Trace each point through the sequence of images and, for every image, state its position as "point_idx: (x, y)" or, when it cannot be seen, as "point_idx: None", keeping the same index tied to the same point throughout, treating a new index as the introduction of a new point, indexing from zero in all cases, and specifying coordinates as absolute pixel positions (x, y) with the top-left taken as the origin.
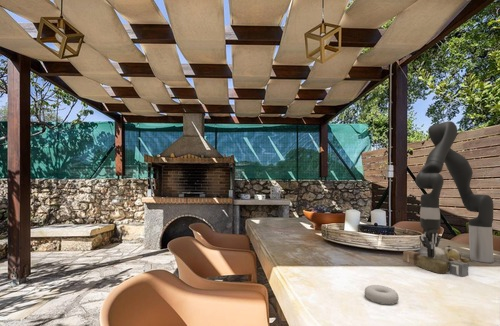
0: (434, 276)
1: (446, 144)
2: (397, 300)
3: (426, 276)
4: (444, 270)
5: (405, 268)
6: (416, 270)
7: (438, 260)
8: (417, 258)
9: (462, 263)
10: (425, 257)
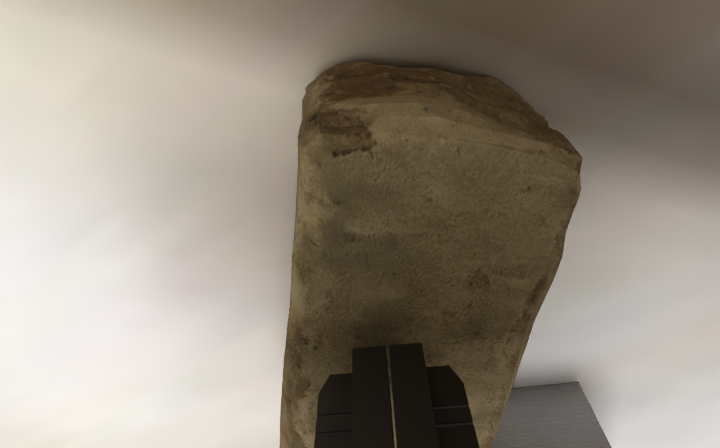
0: (170, 408)
1: None
2: None
3: (75, 387)
4: None
5: (27, 90)
6: (133, 212)
7: None
8: (299, 131)
9: None
10: (350, 289)
